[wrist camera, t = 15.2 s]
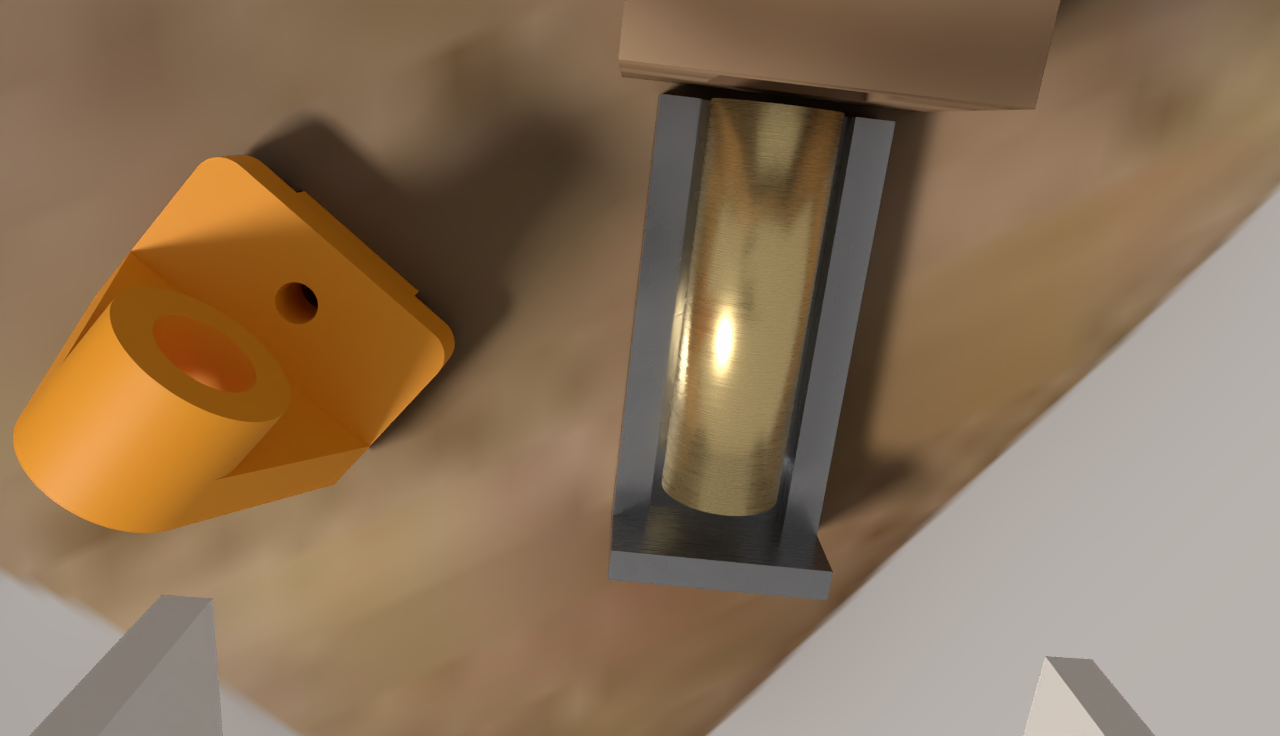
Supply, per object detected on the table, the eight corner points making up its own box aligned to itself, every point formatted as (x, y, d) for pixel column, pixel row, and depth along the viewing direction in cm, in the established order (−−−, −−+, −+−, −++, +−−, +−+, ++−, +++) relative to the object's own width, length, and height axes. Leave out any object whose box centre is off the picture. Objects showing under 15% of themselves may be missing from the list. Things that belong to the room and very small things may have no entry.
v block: (659, 95, 31) (663, 91, 26) (877, 121, 31) (922, 121, 27) (611, 517, 36) (607, 579, 31) (801, 536, 36) (827, 600, 31)
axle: (710, 100, 30) (714, 96, 26) (832, 114, 30) (856, 112, 26) (663, 459, 34) (659, 507, 30) (771, 473, 34) (783, 522, 30)
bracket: (469, 335, 34) (384, 448, 22) (356, 457, 35) (220, 623, 24) (249, 142, 31) (28, 156, 20) (138, 280, 33) (-128, 368, 21)
